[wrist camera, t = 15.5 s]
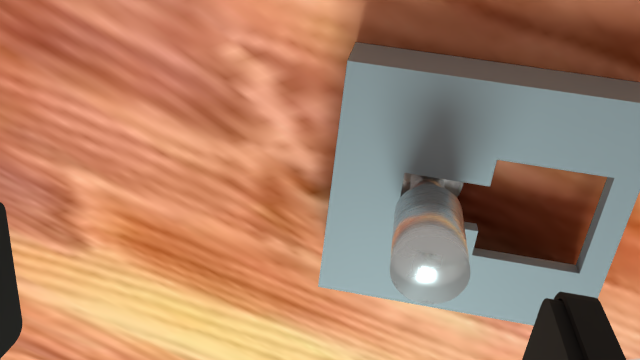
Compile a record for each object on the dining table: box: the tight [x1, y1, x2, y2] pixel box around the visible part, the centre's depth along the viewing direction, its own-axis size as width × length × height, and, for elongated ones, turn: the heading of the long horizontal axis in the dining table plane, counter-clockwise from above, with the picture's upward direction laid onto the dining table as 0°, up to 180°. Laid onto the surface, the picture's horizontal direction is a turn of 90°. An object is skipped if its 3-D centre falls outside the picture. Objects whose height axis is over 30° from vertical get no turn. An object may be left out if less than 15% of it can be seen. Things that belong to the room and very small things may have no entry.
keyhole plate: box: [318, 42, 640, 325], centre depth 39 cm, size 18×16×5 cm
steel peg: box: [390, 173, 470, 304], centre depth 35 cm, size 5×5×13 cm
